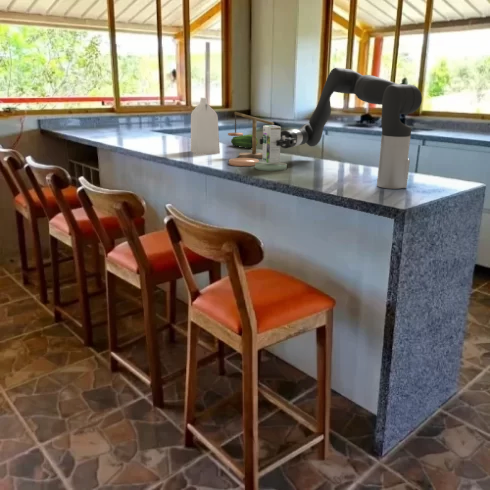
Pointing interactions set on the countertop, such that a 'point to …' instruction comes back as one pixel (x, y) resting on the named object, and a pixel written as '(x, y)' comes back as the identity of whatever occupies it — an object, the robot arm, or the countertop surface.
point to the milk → (204, 129)
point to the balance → (253, 154)
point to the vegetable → (243, 141)
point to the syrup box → (271, 143)
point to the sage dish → (271, 166)
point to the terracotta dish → (243, 161)
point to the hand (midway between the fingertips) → (268, 142)
